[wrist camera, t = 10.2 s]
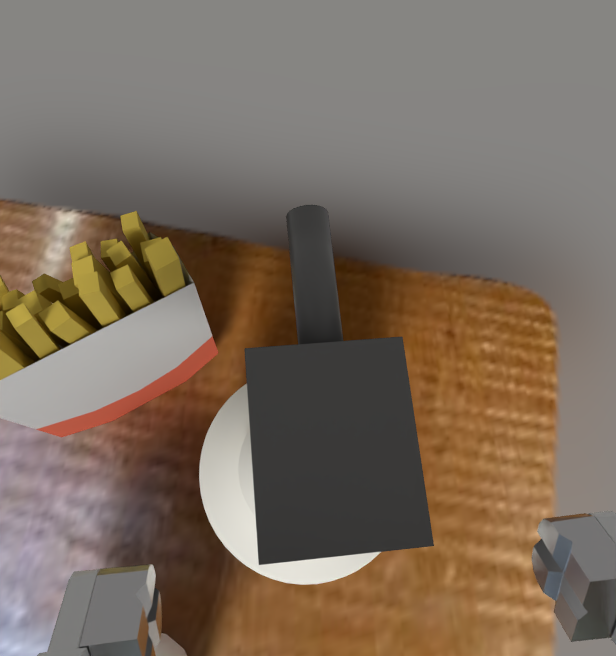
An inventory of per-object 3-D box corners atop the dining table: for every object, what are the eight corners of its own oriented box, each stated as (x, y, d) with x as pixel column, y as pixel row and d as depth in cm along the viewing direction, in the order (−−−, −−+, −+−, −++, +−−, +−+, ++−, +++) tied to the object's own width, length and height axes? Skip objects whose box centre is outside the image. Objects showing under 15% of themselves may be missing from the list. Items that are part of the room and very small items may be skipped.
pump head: (263, 538, 21) (258, 565, 12) (247, 314, 24) (235, 205, 15) (366, 527, 22) (433, 546, 13) (340, 307, 24) (381, 197, 15)
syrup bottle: (227, 562, 35) (168, 647, 15) (219, 417, 38) (161, 318, 17) (370, 547, 36) (502, 606, 16) (353, 405, 39) (447, 298, 18)
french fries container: (47, 383, 38) (-137, 284, 21) (191, 309, 40) (133, 164, 23) (75, 442, 37) (-94, 390, 20) (222, 363, 39) (184, 254, 22)
